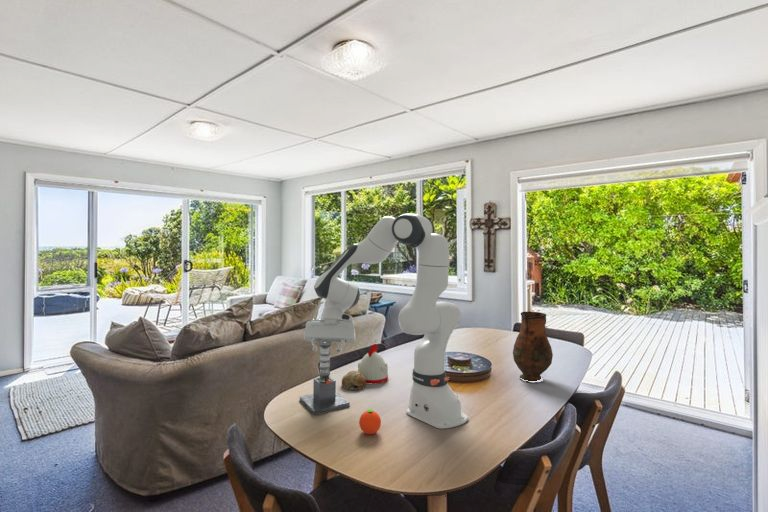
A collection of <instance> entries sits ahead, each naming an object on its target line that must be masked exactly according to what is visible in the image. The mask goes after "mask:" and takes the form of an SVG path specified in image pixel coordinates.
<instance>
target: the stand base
mask: <svg viewBox="0 0 768 512" xmlns="http://www.w3.org/2000/svg"><path fill="white" fill-rule="evenodd" d="M329 378H330V380H326V381H325V382H323V383H321V382H320V381H319V379H320V376H319V377H315V378H313V386H312V387H313V393H310V394H306V395H301V396H299V401H300V403H301V404H302V405H304V407H305V408H306V409H307V410H308V411H309V412H310V413H311V414H312V415H313V416H315V415H316V416H317V415H319V414H320V415H321V414H324V413H328V412H332V411H336V410H337V411H338V410H340V409H345V408H348V407H350V406H351V403H350V401H348V399H346V398H345V397H343V396H342V395H341V394H340V393H339V392H338V391H336V390H337V389H336V387H337V385H336V384H337V382H336V380H335V378H332V376H330V375H329Z"/></svg>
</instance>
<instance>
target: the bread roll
mask: <svg viewBox="0 0 768 512" xmlns="http://www.w3.org/2000/svg"><path fill="white" fill-rule="evenodd" d="M366 384H367V383H366V380H365V377H364V376H363V375H362V374H361V373H360V372H358V370H351V371H349V372H347V374H345V375H344V376H343V377H342V379H341V386H342V387H343V388H344V387H345V388H344V389H346V388H347V390H350V389H351V391H353V390H354V389H356V390H359V388H361V389H364V388H365V386H366ZM363 387H364V388H363Z"/></svg>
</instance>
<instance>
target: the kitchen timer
mask: <svg viewBox="0 0 768 512" xmlns="http://www.w3.org/2000/svg"><path fill="white" fill-rule="evenodd" d="M378 348H379V346H378V344H377V343H374V344H371V346H370V348H369V351H368V352H367V353H366V354H364V356H363V357H362V359H361V360H360V362H358V364H357V371H358V372H360V373H361V374H362V375H363V376H364V377H365V380H366V384H367V383H372V384H371V385H376V384H375V383H378V384H382V382H383V383H385V382H387V381H388V380H389V372H388V370H389V369H388V368H389V367H388V363H387V362H385V360H384V358H383V357H382V356H381V354H379V353H378Z"/></svg>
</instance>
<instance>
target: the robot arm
mask: <svg viewBox="0 0 768 512" xmlns="http://www.w3.org/2000/svg"><path fill="white" fill-rule="evenodd" d="M435 232H436V231H435V224H434V223H433V221H432V220H431V219H430V218H429V217H427V216H425V215H421V214H419V213H402V214H400V215H399V216H397V217H396V218H395V217H394V216H389V215H386V216H383V217H381V218H380V219H379V220H378V222H377V223H376V224H374V226H373V227H372V228H371V230H370V231H369V233H368V234H367V235H366V237H365V238H364V239H363V240H361V241H359V242H357V243H351V244H350V245H349V246H348V247H347V248H346V249H345V250H344V251H343V252H342V253H341V254H340V255H339V256H338V257H337V258H336V259H335V261H334V262H333V263H332V264H331V265H330V266H329V267H328V268H327V269H326V270H325V271H324V272H323V273H321V274H320V275H319V276H318V278H317V279H316V281H315V283H314V286H313V287H314V291H315V294H316V295H317V297H319V298H322V299H323V300H324V299H325V300H324V309H323V311H322V315H321V318H320V319H315V318H311V319H310V320H308V321H306V322H305V326H304V327H305V328H304V331H303V334H302V335H303V340H304V341H305V342H311V344H312V352H317V351H318V345H317V344H316V343H317V342H318V343H319V342H320V341H331V343H340V345H337V347H336V351H337V353H342V349H343V348H344V347H345V346H346V344H353V343H354V342H356V329H355V321H354V318H353V316H352V315H350V314H348V313H347V314H346V313H345V312H346V311H348V310H350V309H352V308H354V307H355V306H356V305H357V304H358V303H359V301H360V296H361V292H360V288H359V286H357V285H356V284H354V283H352V282H349V281H347V280H344V279H342V278H340V277H339V275H341V273H342V272H343V271H344V270H345V269H346V268H347V267H348V266H349V265H353V264H369V265H374V264H375V265H377V264H380V263H383V262H385V260H386V259H387V258H389V256H390V254H391V253H392V251H393V250H394V248H395V247H396V245H397V244H398V243H402V244H404V245H406V246H408V247H411V248H416V249H417V252H418V261H417V273H416V274H417V275H416V283H415V288H414V291H413V293H412V295H411V297H410V299H409V300H408V302H407V303H406V305H404V307H402V308H401V309H400V310H399V314H398V317H397V321H398V325H399V328H400V329H401V331H402V332H403V333H405V334H407V335H413V336H421V335H424V336H423V337H422V339H421V340H420V342H419V343H417V345H416V346H415V348H414V352H413V353H414V354H413V355H414V356H413V358H414V360H413V368H412V373H411V375H412V381H413V383H412V386H411V388H410V393H409V401H408V402H409V403H408V408H407V409H406V415H408V416H411V417H413V418H414V419H417V420H419V421H421V422H423V423H426V424H428V425H430V426H432V427H433V428H436V429H450V428H455V427H458V426H461V425H464V424H465V423H467V422H468V420H469V416H468V415H467V414H466V413H464V411H462V406H461V405H462V404H461V401H460V399H459V396H458V395H457V394H456V393H455V392H454V391H453V389H452V388H451V386H450V385H449V384H448V381H449V380H451V379H449V378H450V376H447V374H446V370H445V364H446V363H445V361H446V350H447V346H448V343H449V340H450V338H451V336H452V334H453V332H454V331H455V329H456V328H458V326H459V324H460V322H461V319H462V314H461V311H460V307H459V306H458V305H457V304H456V303H454V302H449V301H445V300H444V301H438V299H439V298H440V296H441V294H442V293H444V292H445V291H446V290H447V288H448V284H449V275H450V274H449V273H450V250H449V249H450V248H449V241H448V239H447V238H446V237H445V236H444V235H442V234H439V233H435Z"/></svg>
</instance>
